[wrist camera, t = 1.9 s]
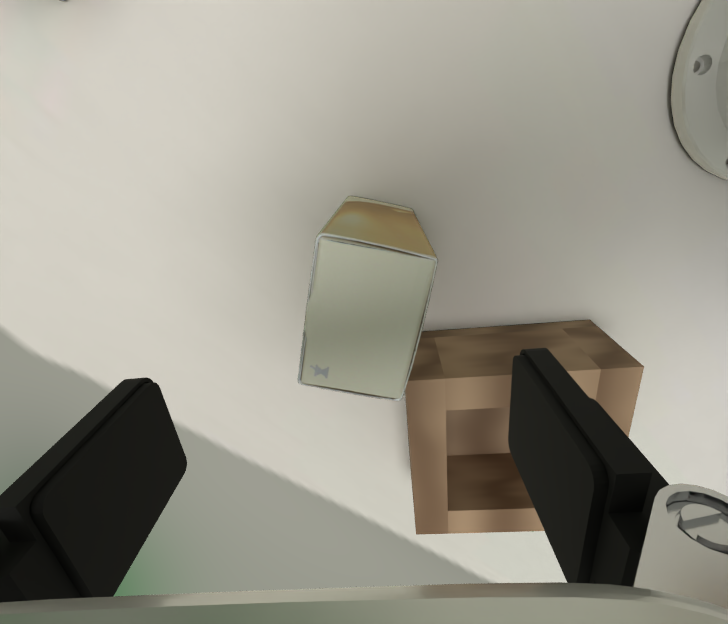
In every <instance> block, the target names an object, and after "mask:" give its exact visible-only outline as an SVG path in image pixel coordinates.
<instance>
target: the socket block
mask: <svg viewBox="0 0 728 624" xmlns="http://www.w3.org/2000/svg"><path fill="white" fill-rule="evenodd" d="M533 348H547V349H548V350H549V351H550V352H551V353H552V354H553V356H554V357H555V358H556V359H557V360H558V361H559V363H560V364H561V365H562V366H563V367H564V368H565V370H566V371H567V372H568V373H569V374H570V376H571V377H572V378H573V379H574V380H575V381H576V383H577V384H578V385H579V386H580V387H581V389H582V390H583V391H584V392H585V393H586V394H587V396H588V397H590V398H593V399H594V400H596V401H597V402H598V403H599V404H600V405H601V406H602V408H603V409H604V410H605V411H606V412H607V413H608V415H609V416H610V417H611V418H612V419H613V420H614V422H615V423H616V424H617V425H618V426H619V427H620V428H621V430H622V431H623V432H624V433H625V434H626V435H627V437H628V436H629V432H630V427H631V423H632V418H633V414H634V409H635V405H636V400H637V396H638V391H639V387H640V382H641V378H642V373H643V369H644V366H643V365H642V364H640V363H639V362H638V361H637V360H636V359H635V358H633V357H632V356H631V355H630V354H629V353H628V352H627V351H625V350H624V349H623V348H622V347H621V346H620V345H618V344H617V343H616V342H615V341H614V340H613V339H612V338H610V337H609V336H608V335H607V334H606V333H605V332H603V331H602V330H601V329H600V328H599V327H598V326H596V325H595V324H594V323H593V322H592V321H591V320H580V321H566V322H552V323H538V324H524V325H510V326H495V327H481V328H467V329H453V330H439V331H425V332H421V336H420V340H419V344H418V348H417V352H416V355H415V359H414V363H413V366H412V370H411V373H410V376H409V379H408V382H407V385H406V388H405V397H406V411H407V425H408V439H409V453H410V467H411V479H412V490H413V502H414V514H415V526H416V534H447V533H483V532H519V531H545V530H544V528H543V526H542V524H541V521H540V519H539V517H538V514H537V512H536V510H535V508H534V505H533V503H532V501H531V499H530V496H529V494H528V492H527V489H526V487H525V485H524V483H523V480H522V478H521V476H520V474H519V471H518V469H517V467H516V464H515V462H514V460H513V458H512V455H511V453H510V449H509V444H508V431H509V414H510V398H511V381H512V364H513V357H514V356H516V355H520V352H521V350H522V349H533Z"/></svg>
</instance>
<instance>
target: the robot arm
mask: <svg viewBox="0 0 728 624" xmlns="http://www.w3.org/2000/svg"><path fill="white" fill-rule="evenodd" d="M693 65H694V69H693ZM671 107H672V114H673V122H674V126H675V128H676V131H677V134H678V136H679V139H680V142H681V144H682V145H683V147H684V148H685V150H686V151H687V153H688V154H689V155H690V157H691V158H692V159H693V160H694V161H695V162H696V163H697V164H699V165H700V166H701V167H702V168H703V169H705V170H706V171H707V172H710V173H712V174H714V175H716V176H718V177H720V178H722V179H725V180H728V0H702V1H701V3H700V4H699V6H698V8H697V10H696V12H695V13H694V15H693V17H692V19H691V20H690V22H689V25H688V27H687V30H686V32H685V35H684V37H683V40H682V42H681V45H680V47H679V50H678V54H677V59H676V63H675V67H674V72H673V76H672V90H671ZM508 444H509V449H510V453H511V455H512V458H513V460H514V462H515V464H516V467H517V469H518V471H519V474H520V476H521V478H522V480H523V483H524V485H525V487H526V489H527V492H528V494H529V496H530V499H531V501H532V503H533V505H534V508H535V510H536V512H537V514H538V517H539V519H540V521H541V524H542V526H543V528H544V530H545V533H546V535H547V537H548V539H549V542H550V544H551V546H552V549H553V551H554V553H555V555H556V558H557V560H558V562H559V564H560V567H561V569H562V571H563V574H564V576H565V578H566V580H567V582H568V583H488V584H444V585H414V586H382V587H351V588H350V587H349V588H319V589H293V590H265V591H238V592H212V593H187V594H164V595H163V594H162V595H141V596H116V597H113V596H114V594H115V592H116V591H117V589H118V587H119V585H120V584H121V582H122V580H123V579H124V577H125V575H126V573H127V572H128V570H129V568H130V566H131V565H132V563H133V561H134V560H135V558H136V556H137V554H138V552H139V551H140V549H141V547H142V546H143V544H144V542H145V541H146V539H147V537H148V535H149V534H150V532H151V530H152V528H153V527H154V525H155V523H156V522H157V520H158V518H159V516H160V515H161V513H162V511H163V509H164V508H165V506H166V504H167V503H168V501H169V499H170V497H171V496H172V494H173V492H174V490H175V489H176V487H177V485H178V484H179V482H180V480H181V478H182V477H183V475H184V473H185V471H186V466H187V460H186V456H185V454H184V451H183V448H182V446H181V443H180V440H179V438H178V435H177V432H176V430H175V427H174V424H173V422H172V419H171V416H170V414H169V411H168V408H167V406H166V403H165V400H164V398H163V395H162V392H161V390H160V387H159V385H158V384H157V383H153V381H152V380H151V379H150V378H136V379H126V380H123V381H122V382H121V383H120V384H119V385H118V386H116V387H115V388H114V389H113V390H112V391H111V392H110V393H109V394H108V395H107V396H106V397H105V398H104V399H103V400H102V401H100V402H99V403H98V404H97V405H96V406H95V407H94V408H93V409H92V410H91V411H90V412H89V413H88V414H87V415H86V416H84V417H83V418H82V419H81V420H80V421H79V422H78V423H77V424H76V425H75V426H74V427H73V428H72V429H71V430H70V431H68V432H67V433H66V434H65V435H64V436H63V437H62V438H61V439H60V440H59V441H58V442H57V443H56V444H55V445H54V446H52V447H51V448H50V449H49V450H48V451H47V452H46V453H45V454H44V455H43V456H42V457H41V458H40V459H39V460H37V462H35V463H34V464H33V465H32V466H31V467H30V468H29V469H28V470H27V471H26V472H25V473H24V474H23V475H21V476H20V477H19V478H18V479H17V480H16V481H15V482H14V483H13V484H12V485H11V486H10V487H9V488H8V489H6V491H4V492H3V493H2V494H1V495H0V624H728V497H727V496H725V495H723V494H721V493H719V492H716V491H714V490H711V489H707V488H704V487H701V486H697V485H689V484H674V485H669V484H668V483H667V482H666V480H665V479H664V478H663V477H662V476H661V475H660V474H659V472H658V471H657V470H656V469H655V468H654V467H653V465H652V464H651V463H650V462H649V461H648V460H647V458H646V457H645V456H644V455H643V454H642V453H641V452H640V450H639V449H638V448H637V447H636V446H635V445H634V443H633V442H632V441H631V440H630V439H629V438H628V437H627V435H626V434H625V433H624V432H623V431H622V430H621V428H620V427H619V426H618V425H617V424H616V423H615V422H614V420H613V419H612V418H611V417H610V416H609V415H608V413H607V412H606V411H605V410H604V409H603V408H602V406H601V405H600V404H599V403H598V402H597V401H596V400H594V399H593V398H590V397H588V396H587V394H586V393H585V392H584V391H583V390H582V389H581V387H580V386H579V385H578V384H577V383H576V381H575V380H574V379H573V378H572V377H571V376H570V374H569V373H568V372H567V371H566V370H565V368H564V367H563V366H562V365H561V364H560V363H559V361H558V360H557V359H556V358H555V357H554V356H553V354H552V353H551V352H550V351H549V350H548V349H547V348H533V349H522V350H521V352H520V355H516V356H514V357H513V364H512V381H511V398H510V414H509V431H508Z"/></svg>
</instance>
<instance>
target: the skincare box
mask: <svg viewBox="0 0 728 624" xmlns="http://www.w3.org/2000/svg"><path fill="white" fill-rule="evenodd" d="M437 263H438V259H437V257H436V255H435V254H434V251H433V249H432V247H431V245H430V244H429V241H428V240H427V238H426V236H425V234H424V232H423V230H422V228H421V226H420V224H419V222H418V220H417V218H416V216H415V214H414V212H413V210H412V209H411V208H406V207H402V206H398V205H394V204H389V203H385V202H380V201H375V200H370V199H365V198H360V197H354V196H348V197H347V198H346V200H345V201H344V202H343V203H342V205H341V206H340V207H339V209H338V210H337V211H336V212H335V214H334V215H333V216H332V217H331V219H330V220H329V221H328V223H327V224H326V225H325V226H324V228H323V229H322V230H321V231H320V233H319V234H318V235H317V237H316V241H315V249H314V256H313V263H312V270H311V278H310V284H309V293H308V300H307V307H306V315H305V324H304V332H303V341H302V348H301V357H300V365H299V374H298V383H299V384H301V385H305V386H312V387H317V388H321V389H327V390H332V391H338V392H344V393H349V394H354V395H360V396H366V397H372V398H378V399H388V400H393V401H399V400H401V399H402V397H403V394H404V391H405V388H406V385H407V382H408V379H409V376H410V373H411V370H412V366H413V363H414V359H415V355H416V352H417V348H418V344H419V340H420V336H421V332H422V328H423V324H424V320H425V316H426V312H427V308H428V303H429V299H430V294H431V290H432V286H433V281H434V276H435V271H436V267H437Z"/></svg>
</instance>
